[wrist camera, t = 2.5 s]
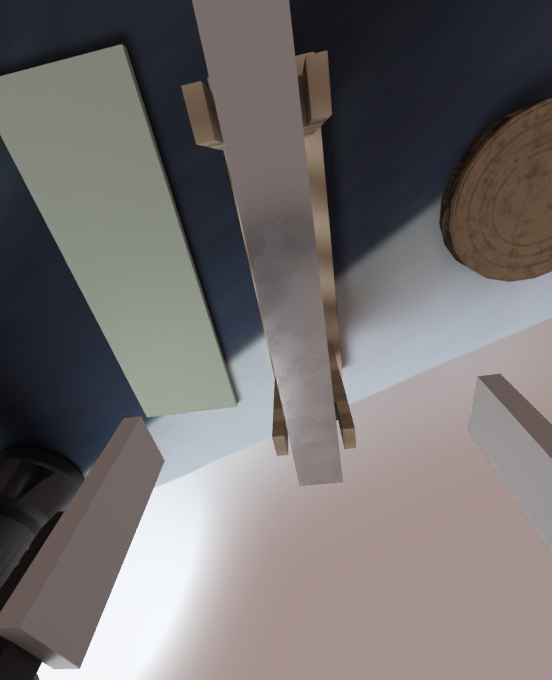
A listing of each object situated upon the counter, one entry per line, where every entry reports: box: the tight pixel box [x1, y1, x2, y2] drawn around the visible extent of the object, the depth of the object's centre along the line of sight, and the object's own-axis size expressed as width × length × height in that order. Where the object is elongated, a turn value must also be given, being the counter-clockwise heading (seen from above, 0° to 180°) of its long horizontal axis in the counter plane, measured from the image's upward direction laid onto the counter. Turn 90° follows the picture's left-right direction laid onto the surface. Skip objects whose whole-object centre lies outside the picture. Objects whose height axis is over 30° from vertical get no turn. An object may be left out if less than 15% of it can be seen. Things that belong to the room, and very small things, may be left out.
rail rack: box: [181, 51, 356, 456], centre depth 28 cm, size 33×9×16 cm, turn 10°
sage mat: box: [0, 44, 238, 417], centre depth 36 cm, size 40×14×1 cm, turn 10°
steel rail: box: [192, 0, 343, 486], centre depth 22 cm, size 34×4×4 cm, turn 10°
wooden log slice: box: [439, 98, 552, 282], centre depth 30 cm, size 16×16×3 cm
